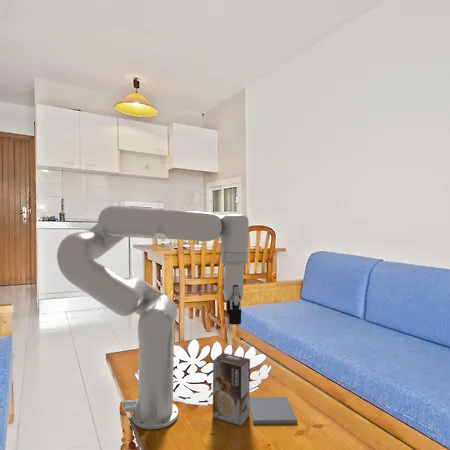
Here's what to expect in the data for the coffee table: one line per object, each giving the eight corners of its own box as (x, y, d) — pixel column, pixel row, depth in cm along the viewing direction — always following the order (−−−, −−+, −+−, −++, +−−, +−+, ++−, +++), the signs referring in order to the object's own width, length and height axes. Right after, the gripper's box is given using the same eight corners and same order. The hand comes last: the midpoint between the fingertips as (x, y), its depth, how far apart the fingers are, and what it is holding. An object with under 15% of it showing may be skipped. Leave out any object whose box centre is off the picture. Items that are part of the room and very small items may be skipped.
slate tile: (253, 423, 90) (253, 420, 90) (248, 400, 102) (248, 397, 102) (297, 423, 91) (297, 419, 91) (286, 400, 103) (286, 396, 103)
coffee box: (250, 414, 95) (251, 358, 95) (240, 426, 89) (242, 367, 89) (221, 405, 99) (223, 352, 99) (211, 416, 93) (212, 359, 93)
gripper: (220, 255, 102) (219, 310, 102) (222, 261, 85) (221, 328, 85) (244, 255, 103) (243, 310, 103) (251, 262, 85) (250, 328, 86)
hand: (233, 318), depth 94 cm, fingers open, 9 cm apart
